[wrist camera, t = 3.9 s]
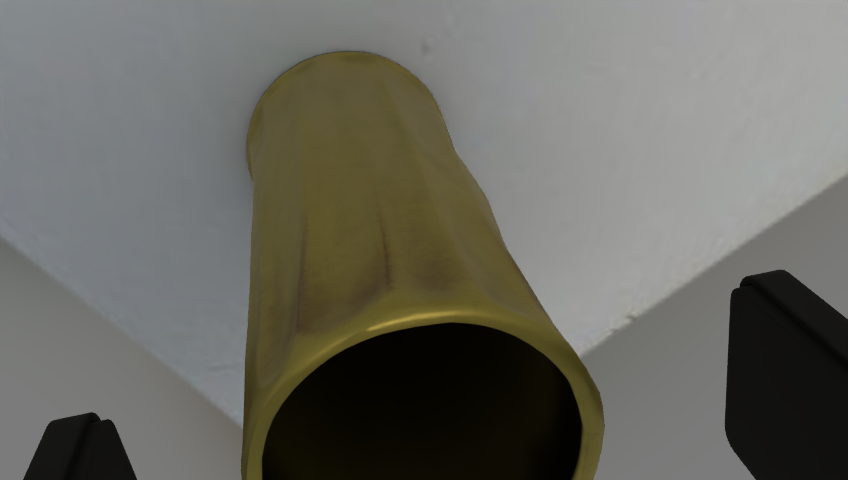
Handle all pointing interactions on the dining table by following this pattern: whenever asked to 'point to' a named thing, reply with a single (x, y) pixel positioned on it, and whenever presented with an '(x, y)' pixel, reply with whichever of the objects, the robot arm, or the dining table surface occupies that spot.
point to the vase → (393, 300)
